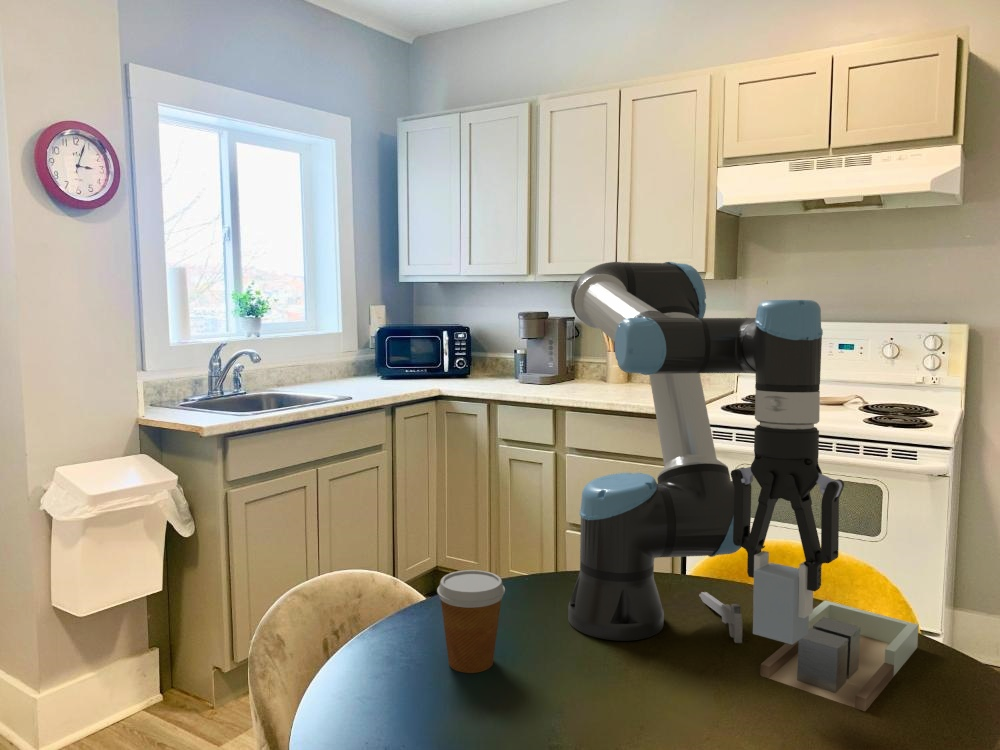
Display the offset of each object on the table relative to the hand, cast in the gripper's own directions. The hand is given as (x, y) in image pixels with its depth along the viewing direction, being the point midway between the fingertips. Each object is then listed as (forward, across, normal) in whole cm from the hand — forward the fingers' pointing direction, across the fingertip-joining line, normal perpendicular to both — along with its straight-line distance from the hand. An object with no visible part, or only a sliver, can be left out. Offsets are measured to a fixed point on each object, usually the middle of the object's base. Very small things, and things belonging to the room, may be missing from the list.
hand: (782, 608), depth 96 cm
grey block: (+3, 0, 0) cm, 3 cm away
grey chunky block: (+12, +2, +14) cm, 18 cm away
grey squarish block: (+12, +2, +9) cm, 15 cm away
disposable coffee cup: (+12, -37, -18) cm, 43 cm away
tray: (+12, +2, +23) cm, 26 cm away
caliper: (+12, -18, +20) cm, 30 cm away
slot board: (+12, +2, +17) cm, 21 cm away
